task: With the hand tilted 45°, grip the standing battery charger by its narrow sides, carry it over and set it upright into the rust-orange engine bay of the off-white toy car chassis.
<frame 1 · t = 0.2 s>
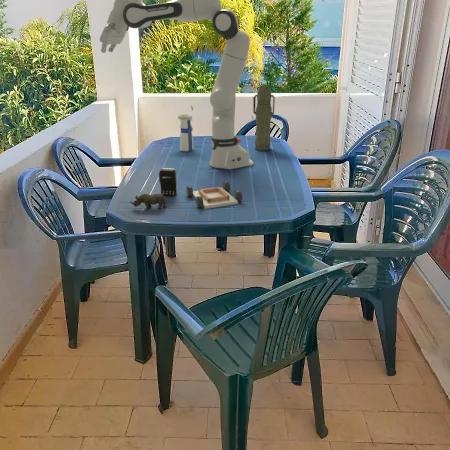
hand: (106, 51, 210), 54 cm above the table, tool tilted 30°, fingers open, 8 cm apart
water bottle: (186, 149, 255), on the table
chassis: (213, 198, 180), on the table
thermos: (262, 149, 255), on the table
rhino figurine: (148, 208, 171), on the table
battery charger: (168, 196, 184), on the table
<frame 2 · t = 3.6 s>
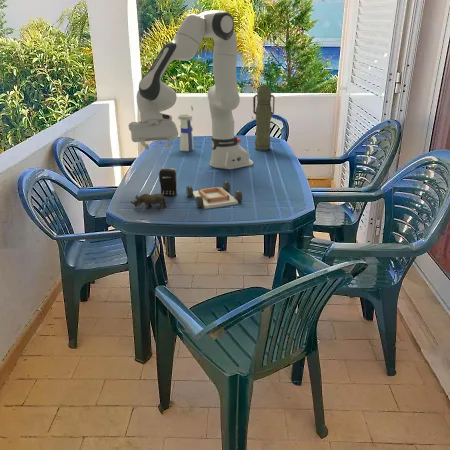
hand: (158, 148, 187), 17 cm above the table, tool tilted 45°, fingers open, 8 cm apart
nothing on the table moved.
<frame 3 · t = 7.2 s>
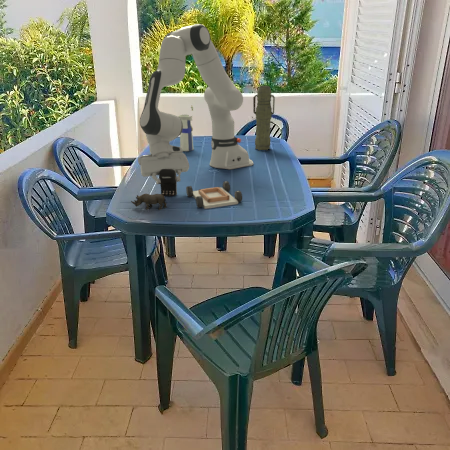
hand: (168, 182, 181), 6 cm above the table, tool tilted 45°, fingers closed on battery charger, 7 cm apart
battery charger: (168, 195, 184), on the table, touching gripper
everything else where it was.
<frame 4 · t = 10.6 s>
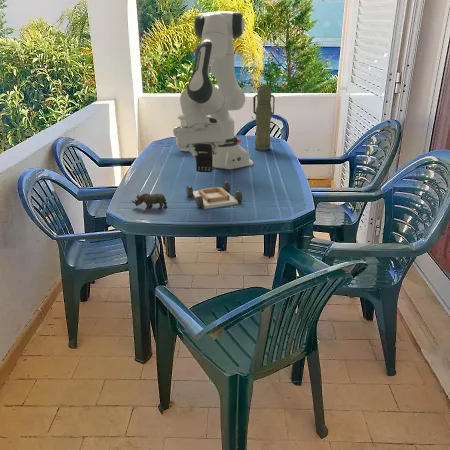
hand: (205, 155, 172), 18 cm above the table, tool tilted 45°, fingers closed on battery charger, 7 cm apart
battery charger: (204, 172, 176), point 11 cm above the table, touching gripper
everything else where it was.
when the fingers open (9 cm above the table, at t = 13.3 s): battery charger stays where it is, resting on chassis.
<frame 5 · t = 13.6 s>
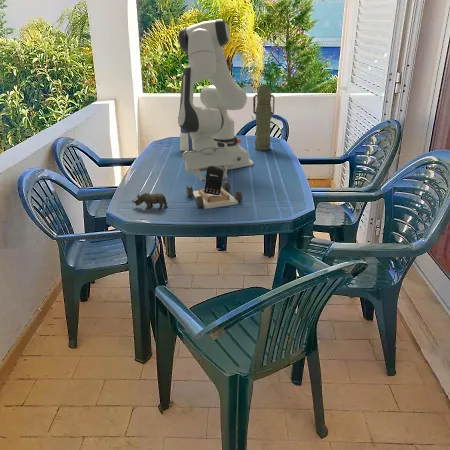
hand: (214, 179, 176), 9 cm above the table, tool tilted 45°, fingers open, 8 cm apart
battery charger: (211, 194, 179), point 2 cm above the table, touching chassis, gripper
everything else where it was.
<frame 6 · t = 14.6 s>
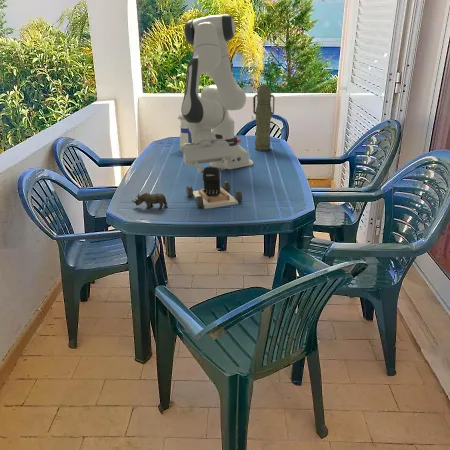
hand: (212, 170, 178), 11 cm above the table, tool tilted 45°, fingers open, 8 cm apart
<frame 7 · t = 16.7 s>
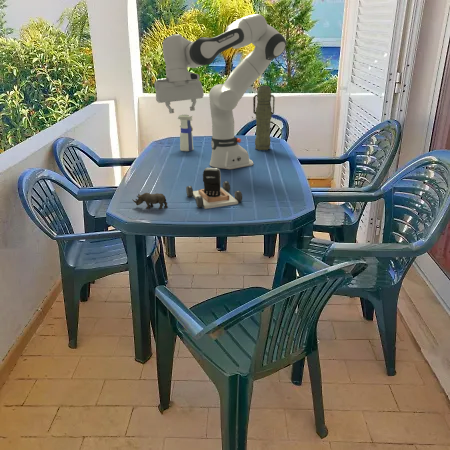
hand: (182, 112, 183), 32 cm above the table, tool pointing down, fingers open, 8 cm apart
battery charger: (211, 196, 180), point 1 cm above the table, touching chassis
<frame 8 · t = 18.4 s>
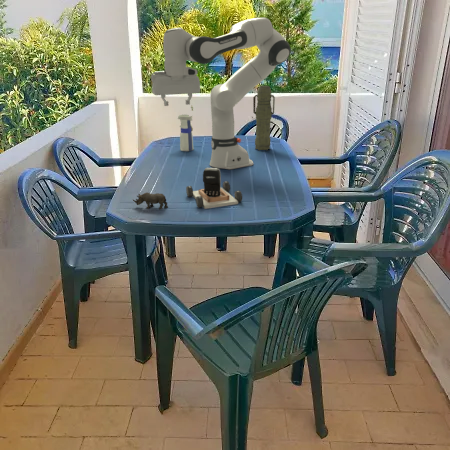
hand: (177, 105, 187), 34 cm above the table, tool pointing down, fingers open, 8 cm apart
at the end: battery charger 0.8 cm off-centre on the chassis, point 1.0 cm above the chassis's base; battery charger tilted 0°; the gripper is holding nothing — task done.
